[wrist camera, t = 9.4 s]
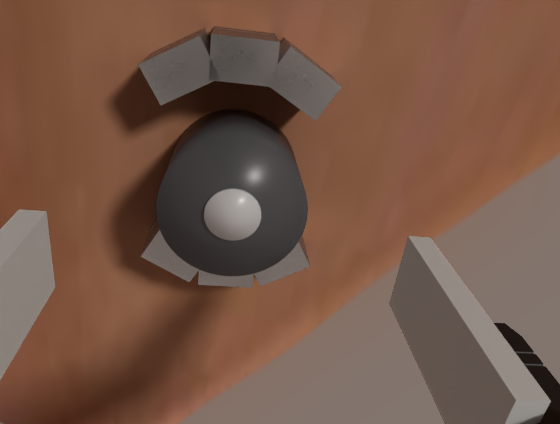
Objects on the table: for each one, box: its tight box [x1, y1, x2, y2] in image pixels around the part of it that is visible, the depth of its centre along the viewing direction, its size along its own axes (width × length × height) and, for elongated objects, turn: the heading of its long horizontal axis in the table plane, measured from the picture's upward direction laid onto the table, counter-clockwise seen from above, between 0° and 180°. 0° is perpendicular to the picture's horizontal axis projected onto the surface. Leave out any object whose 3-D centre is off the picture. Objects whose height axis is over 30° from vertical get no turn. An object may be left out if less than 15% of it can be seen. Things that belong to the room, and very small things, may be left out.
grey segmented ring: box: [138, 27, 342, 288], centre depth 22 cm, size 12×8×3 cm
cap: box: [156, 110, 308, 276], centre depth 22 cm, size 6×6×5 cm
